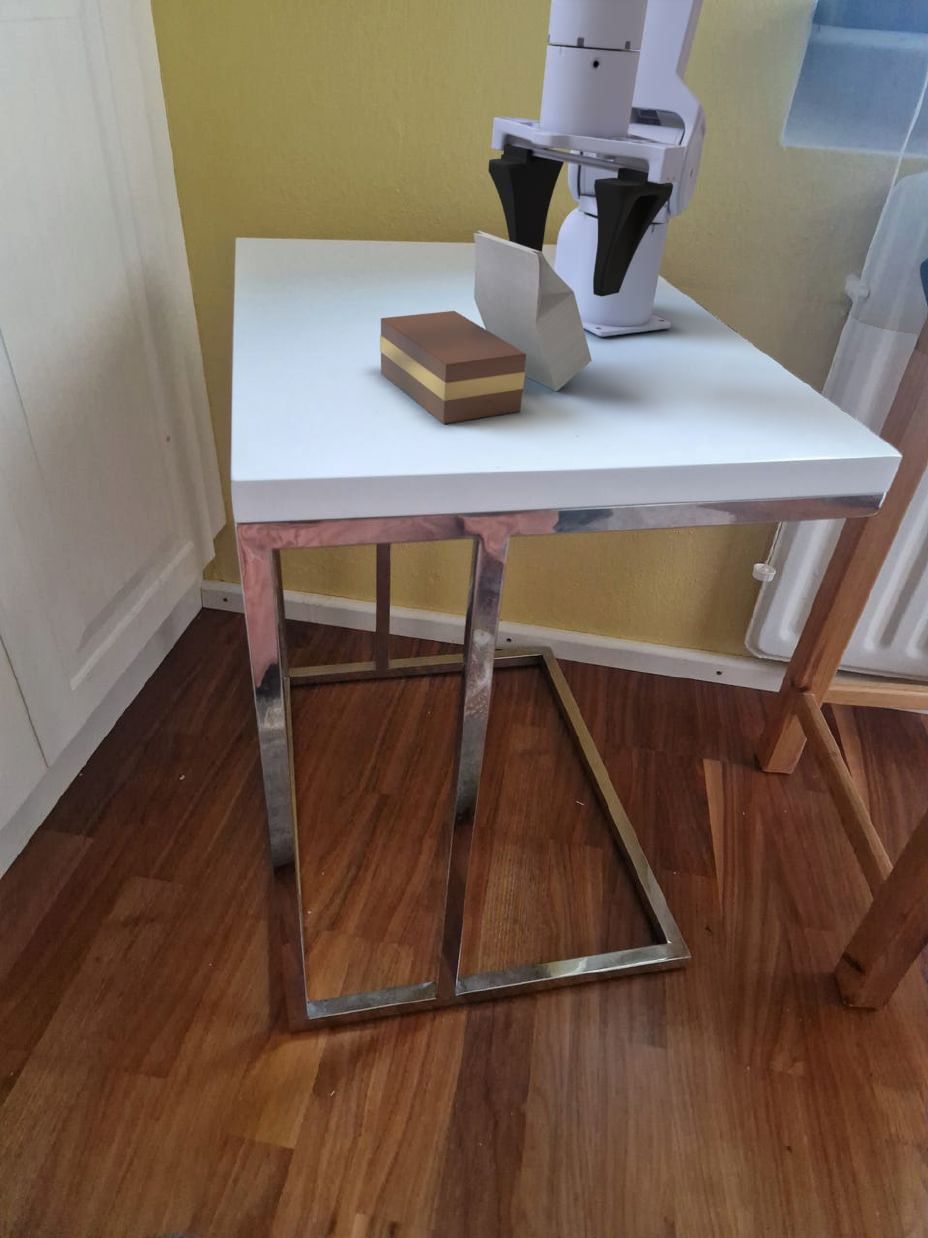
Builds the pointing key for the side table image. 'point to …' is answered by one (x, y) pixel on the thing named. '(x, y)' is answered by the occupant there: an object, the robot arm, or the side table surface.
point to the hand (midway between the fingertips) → (564, 280)
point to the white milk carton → (529, 309)
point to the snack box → (452, 366)
